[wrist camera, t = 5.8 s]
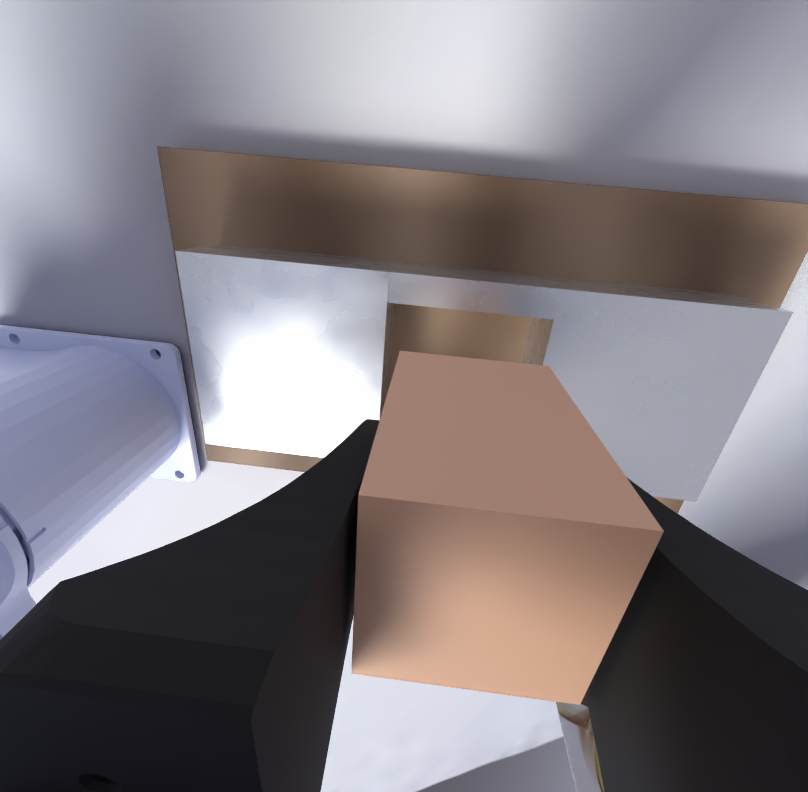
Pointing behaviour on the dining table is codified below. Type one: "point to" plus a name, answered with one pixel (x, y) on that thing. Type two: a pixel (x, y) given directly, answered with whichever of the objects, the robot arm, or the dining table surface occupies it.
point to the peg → (492, 534)
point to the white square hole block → (480, 292)
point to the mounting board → (477, 240)
